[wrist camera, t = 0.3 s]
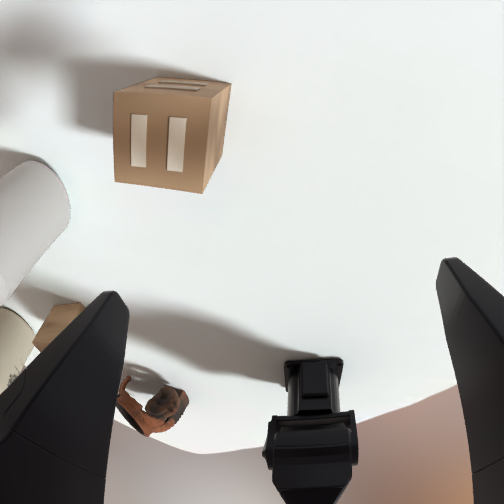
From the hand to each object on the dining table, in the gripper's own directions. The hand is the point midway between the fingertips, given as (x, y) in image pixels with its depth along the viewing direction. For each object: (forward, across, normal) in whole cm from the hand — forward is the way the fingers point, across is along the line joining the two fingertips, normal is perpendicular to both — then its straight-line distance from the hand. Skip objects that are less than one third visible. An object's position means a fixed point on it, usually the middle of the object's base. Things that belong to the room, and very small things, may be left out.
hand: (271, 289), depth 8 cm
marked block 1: (+15, +6, -1) cm, 16 cm away
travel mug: (+13, +41, +19) cm, 47 cm away
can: (+15, +21, +2) cm, 25 cm away
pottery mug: (+12, +21, +32) cm, 40 cm away
